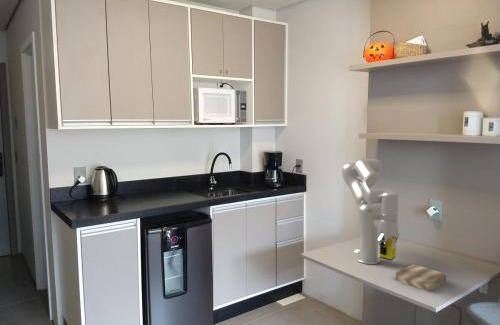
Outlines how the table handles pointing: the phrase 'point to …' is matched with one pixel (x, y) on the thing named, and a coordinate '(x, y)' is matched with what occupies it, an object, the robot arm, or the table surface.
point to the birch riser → (421, 277)
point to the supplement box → (390, 249)
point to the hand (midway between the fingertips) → (387, 252)
